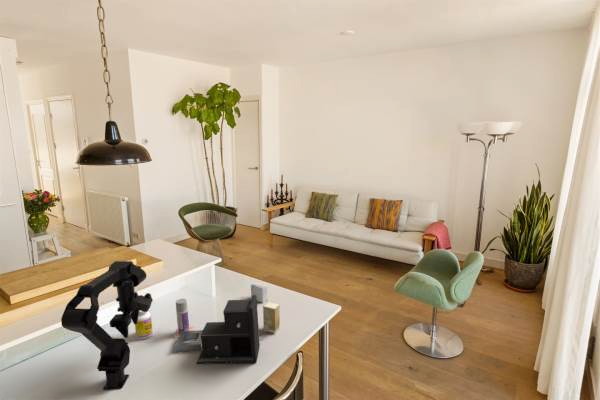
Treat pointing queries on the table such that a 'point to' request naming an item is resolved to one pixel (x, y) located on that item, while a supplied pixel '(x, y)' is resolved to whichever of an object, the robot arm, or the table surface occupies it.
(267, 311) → the skincare box
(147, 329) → the supplement bottle
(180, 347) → the steel collar
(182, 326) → the container
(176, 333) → the mat
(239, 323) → the black drawer cabinet
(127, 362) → the robot arm
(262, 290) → the medicine box
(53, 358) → the table surface
